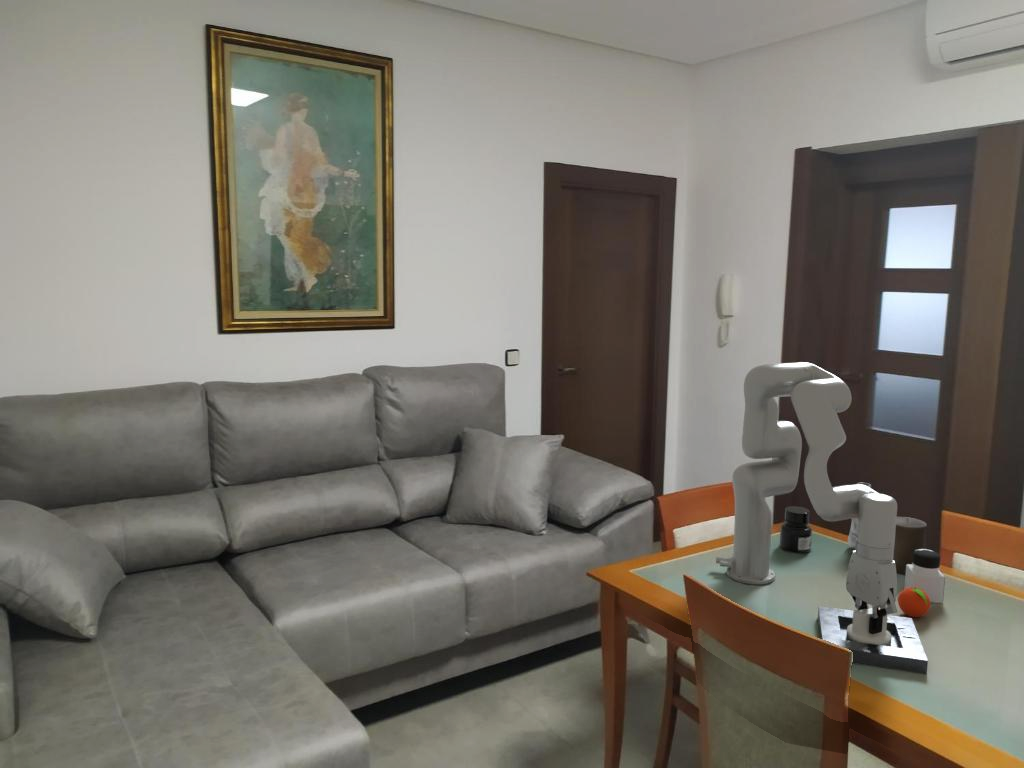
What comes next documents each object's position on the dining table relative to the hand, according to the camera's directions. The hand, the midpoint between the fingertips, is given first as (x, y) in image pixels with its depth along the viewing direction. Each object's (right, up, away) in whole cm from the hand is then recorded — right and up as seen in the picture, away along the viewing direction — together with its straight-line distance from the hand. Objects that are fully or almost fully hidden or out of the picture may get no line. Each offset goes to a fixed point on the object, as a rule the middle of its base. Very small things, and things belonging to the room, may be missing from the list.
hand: (868, 628), depth 169 cm
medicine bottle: (+25, 0, +24) cm, 35 cm away
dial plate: (0, -4, +1) cm, 4 cm away
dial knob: (0, -2, 0) cm, 2 cm away
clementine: (+17, -2, +14) cm, 22 cm away
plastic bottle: (+24, +5, +56) cm, 61 cm away
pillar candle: (+29, +3, +42) cm, 51 cm away
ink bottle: (+5, +5, +57) cm, 58 cm away
